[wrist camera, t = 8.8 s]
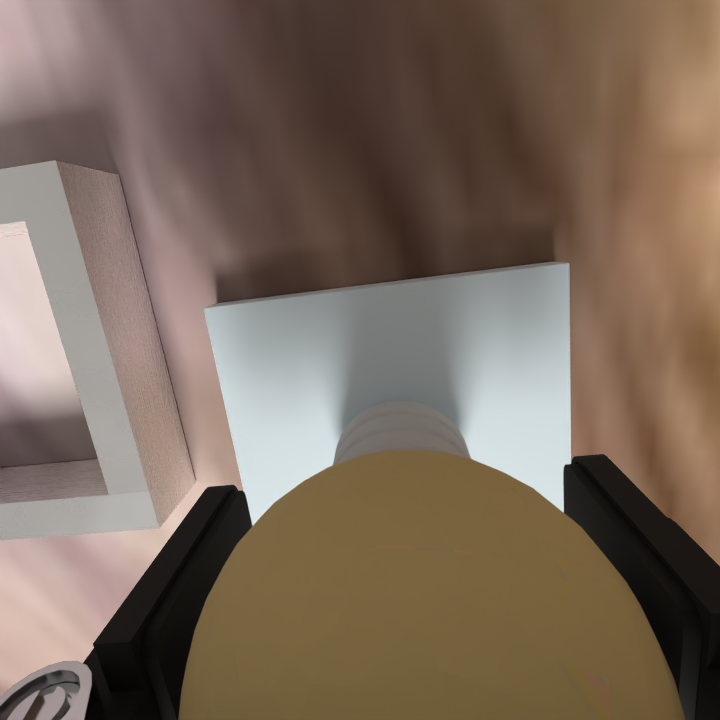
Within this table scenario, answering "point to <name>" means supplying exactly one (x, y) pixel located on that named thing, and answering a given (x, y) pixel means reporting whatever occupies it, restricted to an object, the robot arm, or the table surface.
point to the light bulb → (421, 598)
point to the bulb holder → (95, 362)
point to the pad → (400, 371)
